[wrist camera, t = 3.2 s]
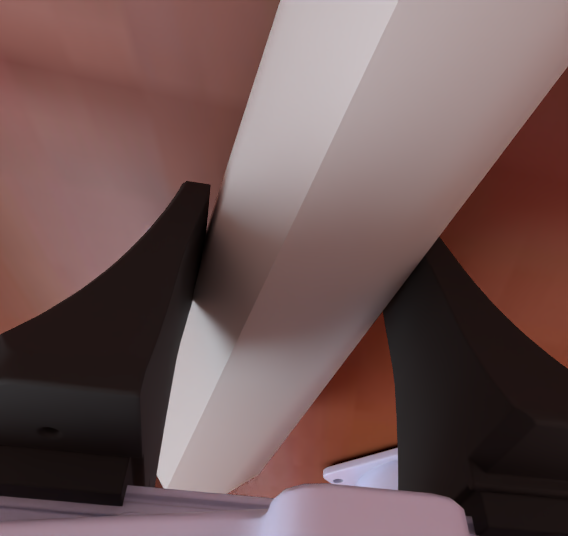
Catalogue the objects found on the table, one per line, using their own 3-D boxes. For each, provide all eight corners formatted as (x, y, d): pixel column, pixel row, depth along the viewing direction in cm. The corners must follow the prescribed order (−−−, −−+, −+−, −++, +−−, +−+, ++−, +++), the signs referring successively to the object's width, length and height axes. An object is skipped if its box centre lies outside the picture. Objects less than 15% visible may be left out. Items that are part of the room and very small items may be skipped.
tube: (270, 508, 22) (1164, -490, 5) (137, 537, 19) (944, -1270, 2) (239, 391, 25) (701, -456, 8) (122, 404, 22) (410, -765, 5)
